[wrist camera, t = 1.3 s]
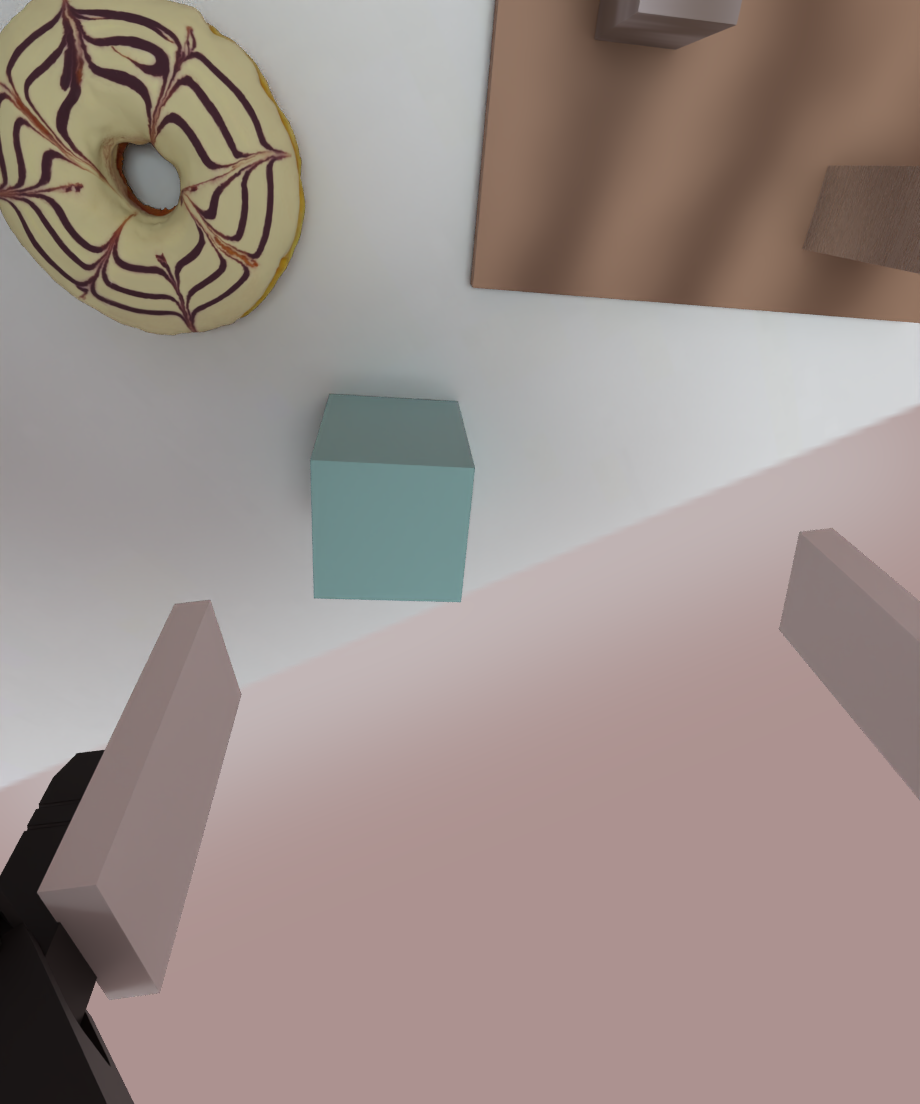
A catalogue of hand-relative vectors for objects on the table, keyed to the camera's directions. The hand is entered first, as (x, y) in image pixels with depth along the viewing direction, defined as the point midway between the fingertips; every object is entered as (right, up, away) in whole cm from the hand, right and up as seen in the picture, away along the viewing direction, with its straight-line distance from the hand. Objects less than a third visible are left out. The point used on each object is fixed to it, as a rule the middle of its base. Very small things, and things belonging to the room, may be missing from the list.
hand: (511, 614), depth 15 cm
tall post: (+15, +16, +13) cm, 25 cm away
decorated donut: (-12, +16, +11) cm, 23 cm away
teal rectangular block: (-4, +6, +17) cm, 18 cm away
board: (+10, +18, +11) cm, 24 cm away
